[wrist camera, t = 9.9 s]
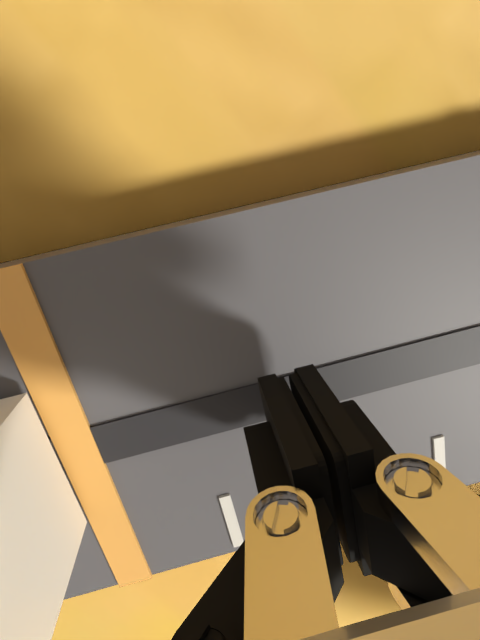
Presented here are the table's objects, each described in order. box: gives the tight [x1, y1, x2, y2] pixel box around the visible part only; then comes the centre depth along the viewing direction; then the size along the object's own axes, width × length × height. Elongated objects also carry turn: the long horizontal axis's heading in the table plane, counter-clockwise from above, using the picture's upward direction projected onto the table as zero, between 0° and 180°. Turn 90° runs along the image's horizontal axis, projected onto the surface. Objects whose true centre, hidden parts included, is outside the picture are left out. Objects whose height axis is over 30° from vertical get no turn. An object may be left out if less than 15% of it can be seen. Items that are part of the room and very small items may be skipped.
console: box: [0, 150, 480, 600], centre depth 14 cm, size 12×30×2 cm, turn 102°
